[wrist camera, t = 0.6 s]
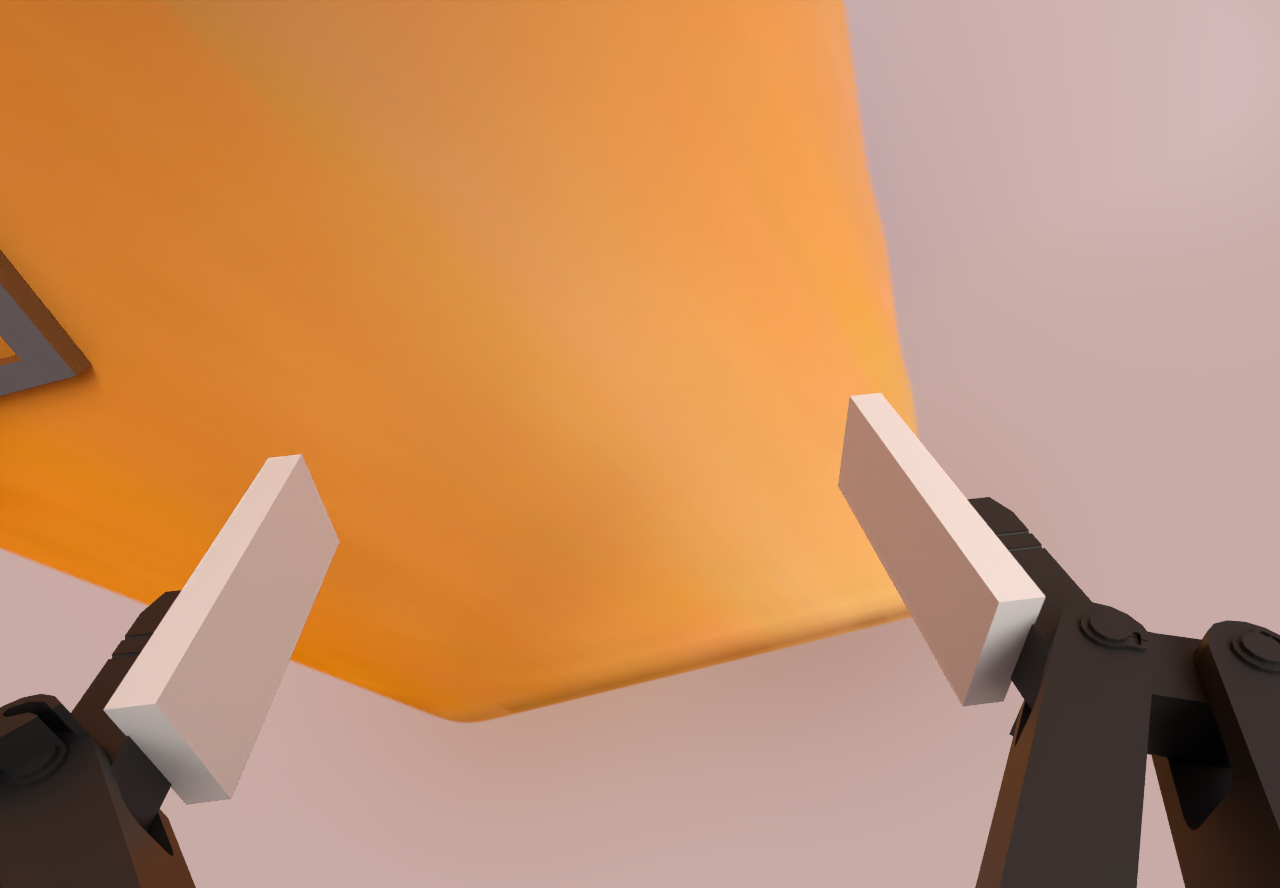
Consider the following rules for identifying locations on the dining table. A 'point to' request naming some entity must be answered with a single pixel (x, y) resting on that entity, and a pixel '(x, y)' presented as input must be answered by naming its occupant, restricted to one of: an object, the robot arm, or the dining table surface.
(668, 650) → the dining table surface
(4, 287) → the grey flat frame
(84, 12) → the dining table surface
